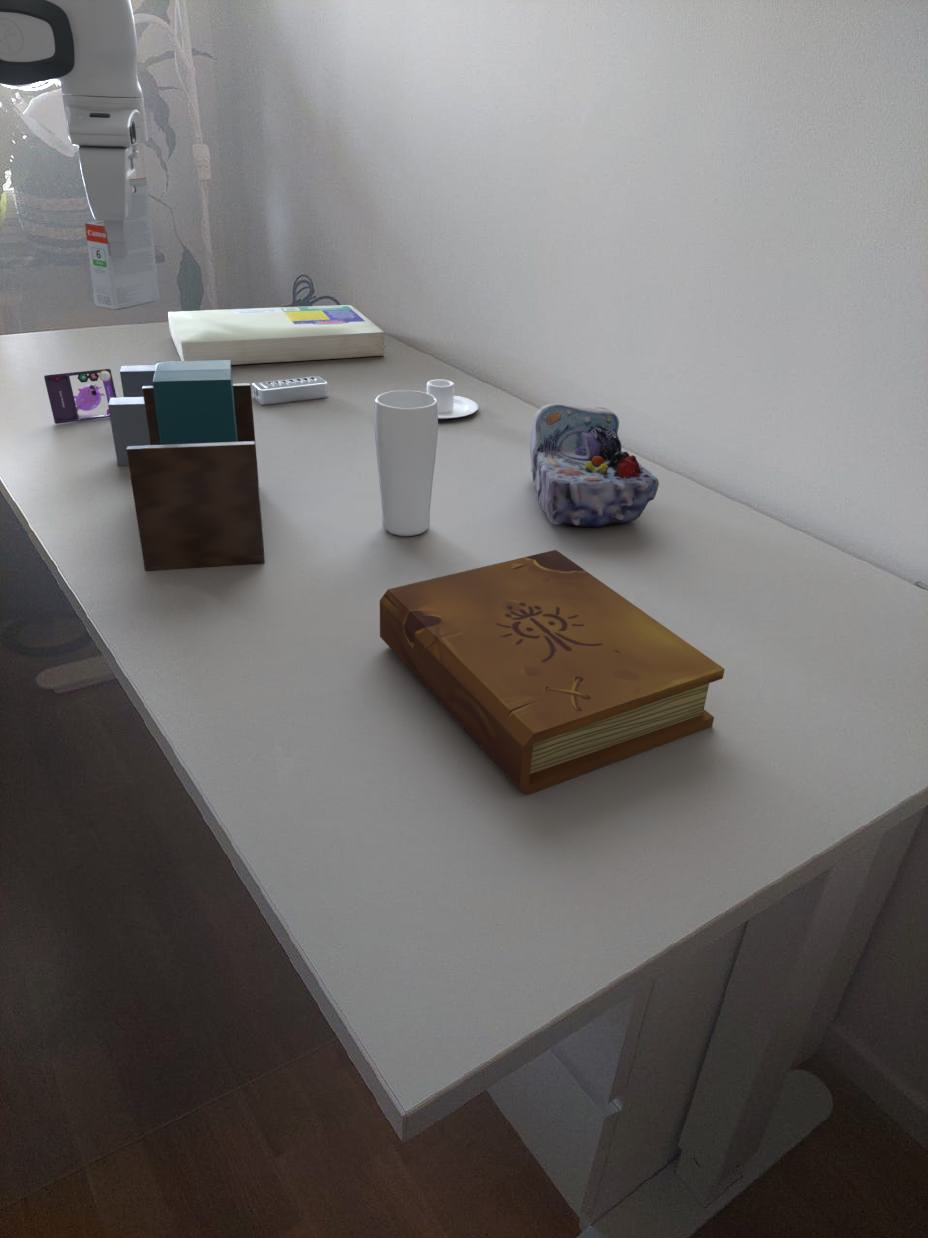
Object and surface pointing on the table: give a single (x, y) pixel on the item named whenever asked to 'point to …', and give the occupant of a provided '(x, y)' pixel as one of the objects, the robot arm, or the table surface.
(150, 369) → the grey u-shaped block
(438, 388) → the candle holder
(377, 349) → the puzzle box
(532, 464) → the cell model
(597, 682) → the diary
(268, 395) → the multiport hub
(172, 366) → the teal tall block
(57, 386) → the purple monster box
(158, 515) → the book rack
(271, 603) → the table surface
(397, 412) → the drinking glass
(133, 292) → the ink box
